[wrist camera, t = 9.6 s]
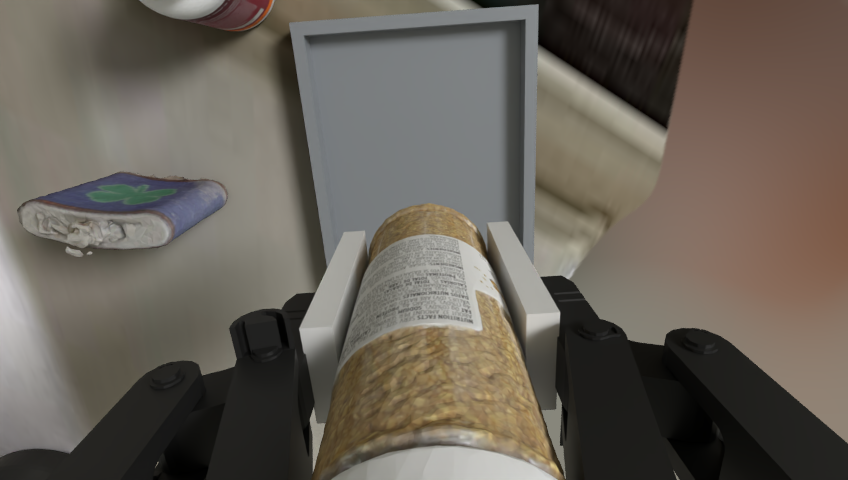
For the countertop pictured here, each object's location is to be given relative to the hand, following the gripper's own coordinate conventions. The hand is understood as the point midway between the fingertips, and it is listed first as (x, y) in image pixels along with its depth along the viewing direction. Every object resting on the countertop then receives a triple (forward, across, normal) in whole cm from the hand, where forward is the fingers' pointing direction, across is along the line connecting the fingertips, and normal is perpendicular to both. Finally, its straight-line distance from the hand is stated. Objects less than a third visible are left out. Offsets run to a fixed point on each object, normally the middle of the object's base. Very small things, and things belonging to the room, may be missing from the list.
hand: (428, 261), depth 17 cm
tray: (+19, 0, 0) cm, 19 cm away
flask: (+20, -20, -1) cm, 28 cm away
